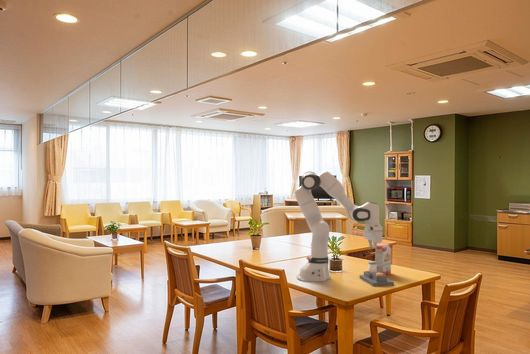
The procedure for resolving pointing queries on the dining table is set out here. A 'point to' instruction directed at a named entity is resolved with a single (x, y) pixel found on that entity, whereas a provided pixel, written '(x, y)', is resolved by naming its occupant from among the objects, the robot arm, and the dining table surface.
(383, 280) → the housing
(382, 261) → the cracker box
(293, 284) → the dining table surface
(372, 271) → the cartridge
